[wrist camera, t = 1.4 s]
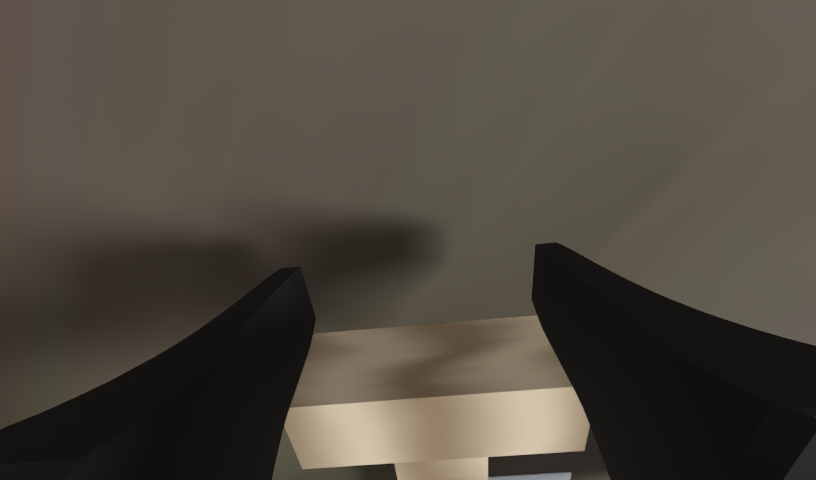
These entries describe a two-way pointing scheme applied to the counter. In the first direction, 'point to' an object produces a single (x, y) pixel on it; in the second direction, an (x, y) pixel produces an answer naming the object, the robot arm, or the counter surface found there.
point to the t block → (434, 399)
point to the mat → (535, 476)
